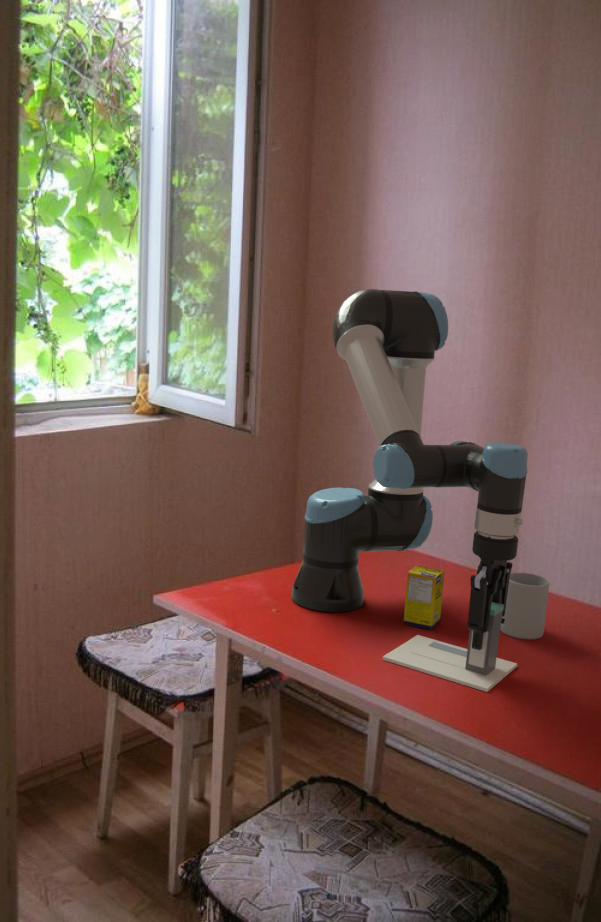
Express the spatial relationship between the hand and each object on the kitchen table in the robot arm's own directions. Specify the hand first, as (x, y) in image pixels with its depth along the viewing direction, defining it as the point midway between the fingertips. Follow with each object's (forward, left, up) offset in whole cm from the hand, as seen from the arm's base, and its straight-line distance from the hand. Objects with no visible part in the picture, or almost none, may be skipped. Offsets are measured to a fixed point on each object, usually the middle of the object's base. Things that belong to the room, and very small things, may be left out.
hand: (481, 660), depth 168 cm
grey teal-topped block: (0, 0, -2) cm, 2 cm away
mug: (-3, +26, -2) cm, 26 cm away
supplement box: (-19, +15, -2) cm, 24 cm away
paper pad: (-6, 0, -2) cm, 6 cm away
